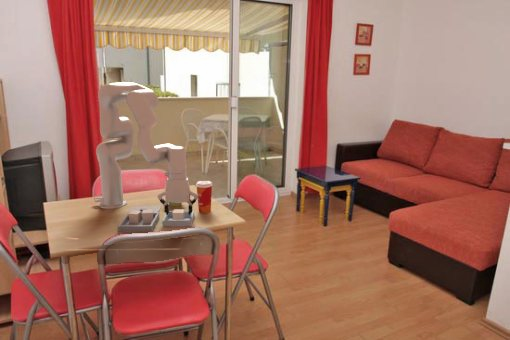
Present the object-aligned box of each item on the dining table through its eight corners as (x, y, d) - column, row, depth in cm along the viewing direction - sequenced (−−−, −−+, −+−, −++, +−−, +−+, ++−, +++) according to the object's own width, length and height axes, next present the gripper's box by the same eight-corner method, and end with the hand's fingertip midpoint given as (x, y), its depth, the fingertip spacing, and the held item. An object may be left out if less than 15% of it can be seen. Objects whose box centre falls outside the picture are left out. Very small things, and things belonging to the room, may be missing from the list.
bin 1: (118, 233, 162) (117, 226, 161) (128, 219, 177) (128, 212, 177) (152, 233, 162) (151, 226, 162) (159, 219, 178) (159, 212, 177)
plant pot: (187, 202, 201) (186, 185, 199) (182, 208, 192) (181, 191, 190) (169, 201, 202) (168, 185, 200) (163, 208, 192) (162, 190, 190)
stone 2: (142, 223, 171) (142, 213, 170) (143, 219, 175) (142, 209, 174) (153, 222, 172) (152, 212, 171) (154, 218, 176) (153, 209, 175)
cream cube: (172, 222, 172) (172, 212, 171) (174, 219, 176) (174, 209, 175) (183, 222, 172) (183, 212, 171) (184, 219, 176) (184, 209, 175)
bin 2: (162, 227, 168) (162, 220, 168) (167, 217, 180) (167, 211, 179) (191, 227, 169) (191, 220, 168) (194, 217, 181) (194, 210, 180)
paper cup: (197, 208, 192) (196, 180, 189) (213, 208, 193) (212, 180, 189) (196, 214, 184) (195, 184, 181) (212, 213, 185) (212, 184, 182)
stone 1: (129, 222, 172) (128, 213, 171) (133, 219, 176) (132, 210, 175) (138, 223, 171) (137, 214, 170) (141, 219, 175) (141, 211, 174)
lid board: (124, 218, 178) (124, 214, 178) (132, 208, 192) (132, 204, 191) (155, 218, 179) (155, 214, 178) (161, 207, 192) (161, 204, 192)
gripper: (154, 177, 165) (156, 216, 170) (197, 177, 166) (197, 216, 170) (158, 173, 173) (160, 210, 177) (198, 173, 174) (199, 210, 178)
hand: (178, 213), depth 174 cm, fingers open, 9 cm apart
